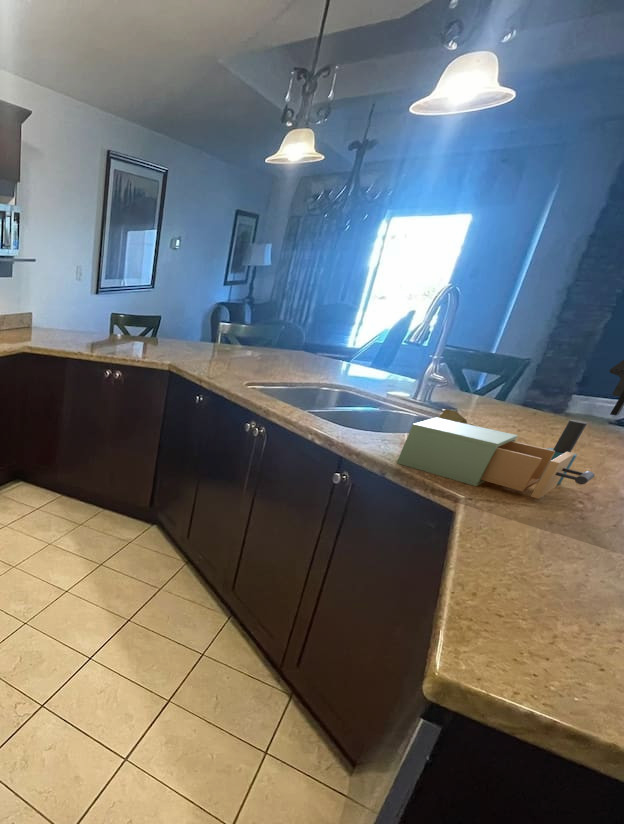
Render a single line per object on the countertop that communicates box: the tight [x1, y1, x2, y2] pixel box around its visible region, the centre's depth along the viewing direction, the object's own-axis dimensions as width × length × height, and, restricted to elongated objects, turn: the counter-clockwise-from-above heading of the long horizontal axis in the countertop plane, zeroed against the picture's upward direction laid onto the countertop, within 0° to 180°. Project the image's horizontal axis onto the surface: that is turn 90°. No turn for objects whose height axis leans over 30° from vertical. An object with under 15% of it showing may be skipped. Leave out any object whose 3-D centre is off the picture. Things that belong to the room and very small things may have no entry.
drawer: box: [481, 441, 595, 499], centre depth 104 cm, size 18×13×8 cm
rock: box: [438, 408, 468, 424], centre depth 128 cm, size 11×9×10 cm
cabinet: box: [396, 416, 519, 487], centre depth 113 cm, size 15×14×10 cm
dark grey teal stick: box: [538, 419, 588, 486], centre depth 108 cm, size 5×5×14 cm
